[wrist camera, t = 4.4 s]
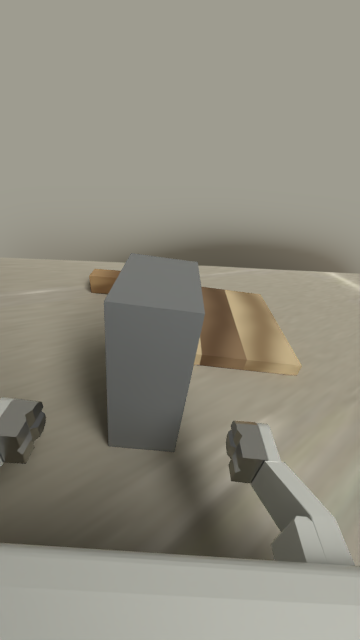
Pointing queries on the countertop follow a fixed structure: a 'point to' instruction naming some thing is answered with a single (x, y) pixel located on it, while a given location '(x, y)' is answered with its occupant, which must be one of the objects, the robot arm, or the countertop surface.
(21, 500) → the countertop surface
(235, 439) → the robot arm
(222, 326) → the plywood board
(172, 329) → the block
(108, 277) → the awl
